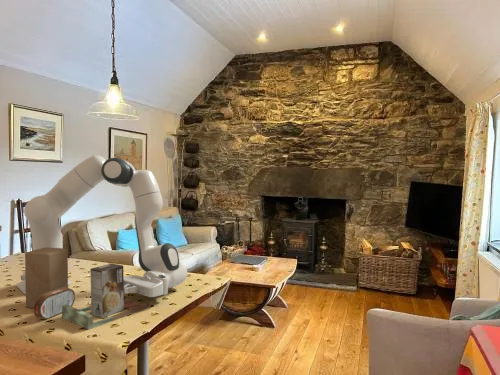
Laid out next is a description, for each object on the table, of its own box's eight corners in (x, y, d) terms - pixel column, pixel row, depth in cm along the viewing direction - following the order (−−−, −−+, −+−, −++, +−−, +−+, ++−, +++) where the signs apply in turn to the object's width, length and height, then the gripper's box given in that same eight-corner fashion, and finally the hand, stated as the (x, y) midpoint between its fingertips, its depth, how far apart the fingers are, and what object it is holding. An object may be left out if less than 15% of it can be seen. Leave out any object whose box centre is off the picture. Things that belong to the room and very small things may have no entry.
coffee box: (112, 306, 137) (112, 262, 136) (124, 309, 134) (124, 265, 133) (90, 314, 129) (90, 268, 128) (102, 318, 126) (101, 271, 125)
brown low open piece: (62, 317, 126) (61, 305, 126) (123, 297, 146) (123, 287, 146) (88, 329, 117) (88, 317, 117) (150, 307, 136) (150, 296, 136)
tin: (70, 306, 136) (69, 283, 136) (76, 307, 135) (76, 284, 135) (32, 322, 122) (32, 296, 122) (40, 323, 121) (39, 298, 121)
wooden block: (49, 310, 132) (48, 254, 131) (25, 308, 134) (24, 252, 133) (68, 300, 142) (68, 248, 141) (45, 298, 144) (45, 247, 143)
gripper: (136, 269, 153) (105, 277, 142) (170, 278, 141) (140, 287, 130) (136, 284, 153) (105, 293, 142) (170, 295, 141) (140, 305, 130)
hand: (122, 290), depth 136 cm, fingers closed
